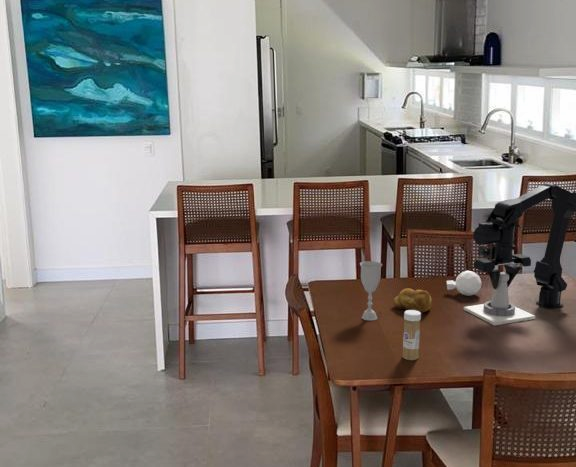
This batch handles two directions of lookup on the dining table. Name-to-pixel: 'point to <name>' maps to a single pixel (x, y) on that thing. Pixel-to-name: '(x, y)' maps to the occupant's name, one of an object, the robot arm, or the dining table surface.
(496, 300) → the salt shaker
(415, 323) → the sprinkles bottle
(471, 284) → the perfume bottle
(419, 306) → the bread roll
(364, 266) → the chalice
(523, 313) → the ring holder
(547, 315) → the dining table surface
